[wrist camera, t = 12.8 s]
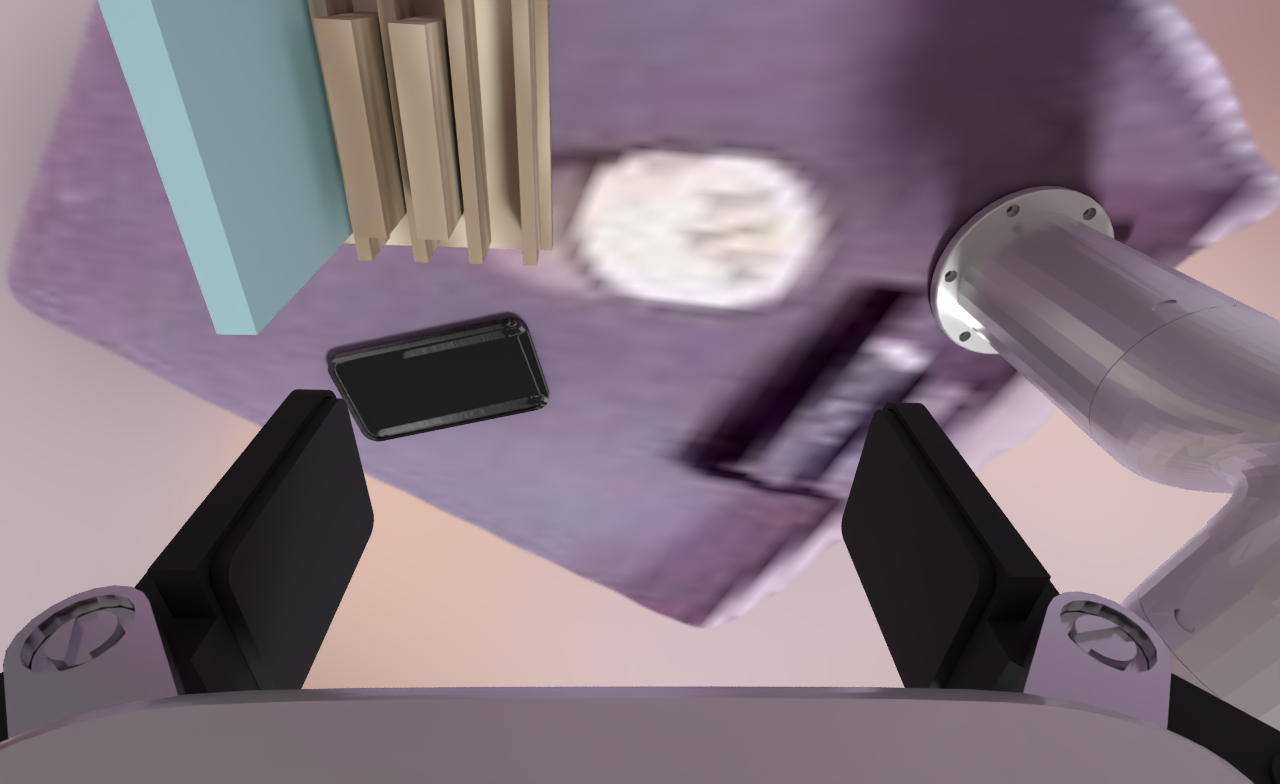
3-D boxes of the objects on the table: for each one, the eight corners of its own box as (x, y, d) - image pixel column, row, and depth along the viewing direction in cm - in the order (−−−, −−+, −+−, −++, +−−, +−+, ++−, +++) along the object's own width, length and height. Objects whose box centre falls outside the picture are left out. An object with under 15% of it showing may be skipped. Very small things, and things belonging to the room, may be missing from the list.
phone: (552, 406, 49) (367, 444, 50) (552, 398, 50) (372, 435, 51) (522, 318, 45) (321, 360, 46) (523, 311, 46) (326, 352, 46)
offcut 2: (452, 17, 34) (424, 24, 28) (469, 201, 40) (448, 240, 34) (422, 15, 34) (387, 22, 28) (443, 200, 39) (417, 239, 34)
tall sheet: (327, -12, 33) (149, -5, 20) (369, 214, 40) (257, 334, 26) (295, -14, 33) (94, -8, 20) (343, 214, 40) (217, 334, 26)
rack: (547, -43, 34) (541, -46, 30) (552, 243, 43) (548, 273, 38) (255, -64, 33) (204, -70, 28) (322, 236, 41) (291, 266, 37)
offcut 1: (391, 13, 34) (350, 20, 28) (417, 199, 39) (386, 238, 33) (361, 11, 34) (313, 18, 28) (390, 198, 39) (355, 237, 33)
